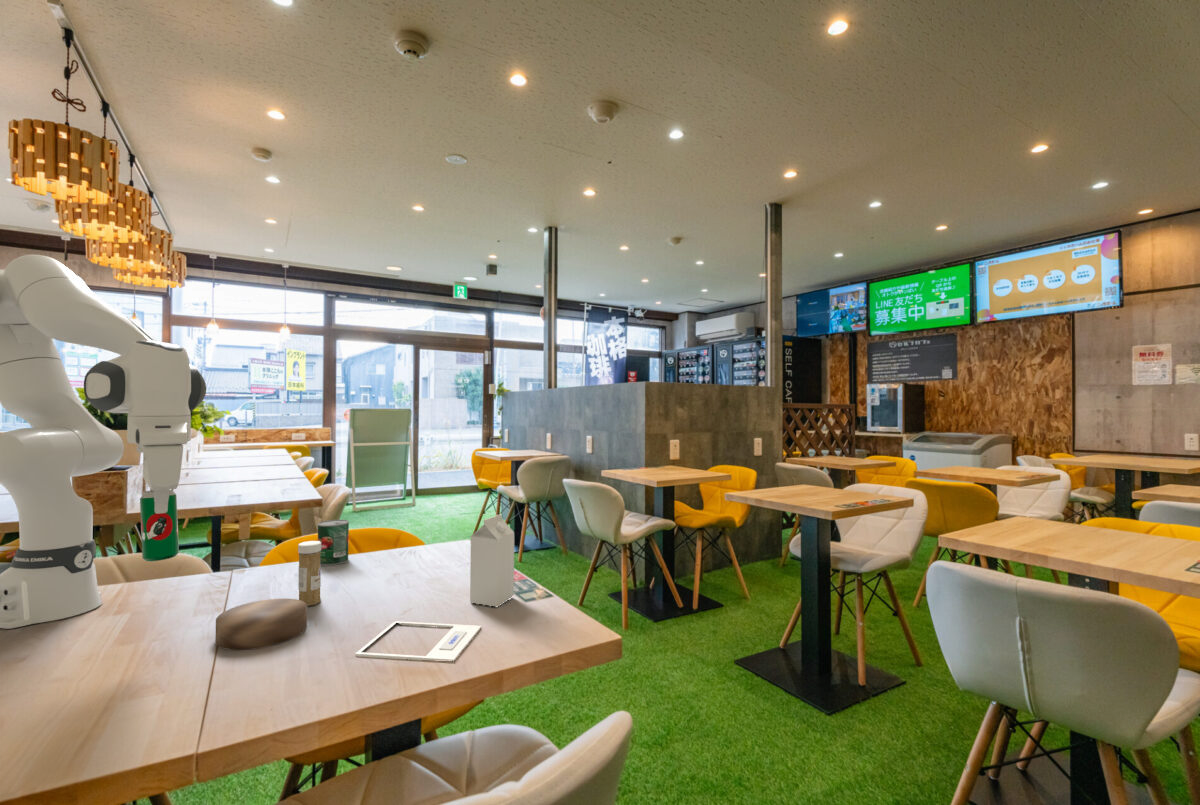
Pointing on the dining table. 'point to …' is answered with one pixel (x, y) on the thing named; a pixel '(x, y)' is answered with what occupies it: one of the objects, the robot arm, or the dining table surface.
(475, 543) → the milk carton
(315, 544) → the sprinkles bottle
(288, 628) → the walnut riser
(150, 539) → the soda can
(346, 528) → the canned tomato
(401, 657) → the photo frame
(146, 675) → the dining table surface
